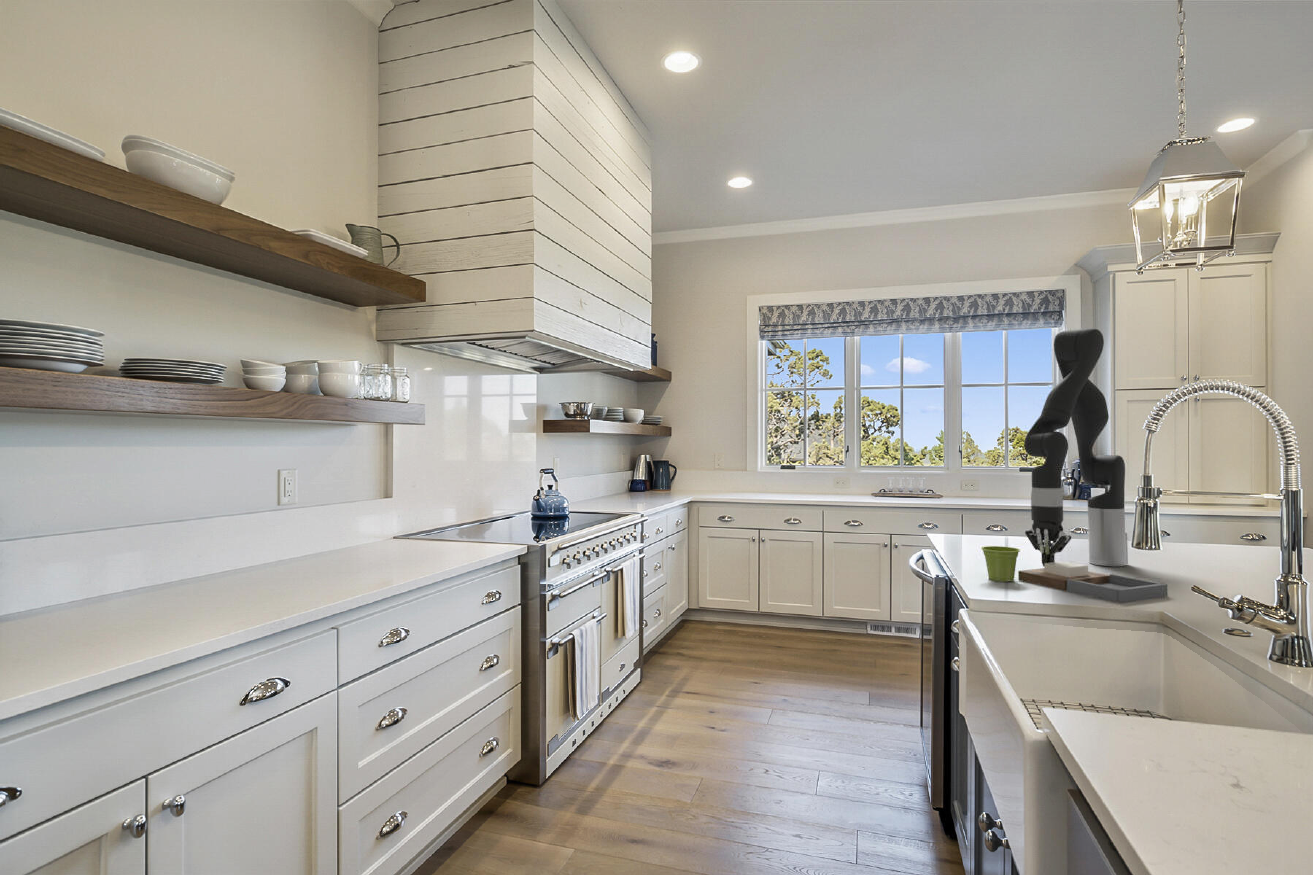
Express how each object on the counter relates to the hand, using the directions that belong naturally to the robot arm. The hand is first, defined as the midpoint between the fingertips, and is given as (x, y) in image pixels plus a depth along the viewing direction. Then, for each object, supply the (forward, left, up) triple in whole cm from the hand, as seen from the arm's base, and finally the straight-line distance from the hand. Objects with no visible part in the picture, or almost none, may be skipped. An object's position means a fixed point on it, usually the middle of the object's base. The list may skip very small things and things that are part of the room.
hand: (1048, 566), depth 178 cm
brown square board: (0, +4, -3) cm, 5 cm away
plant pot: (+12, -5, -4) cm, 13 cm away
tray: (0, +18, -3) cm, 19 cm away
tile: (0, +5, -1) cm, 5 cm away
